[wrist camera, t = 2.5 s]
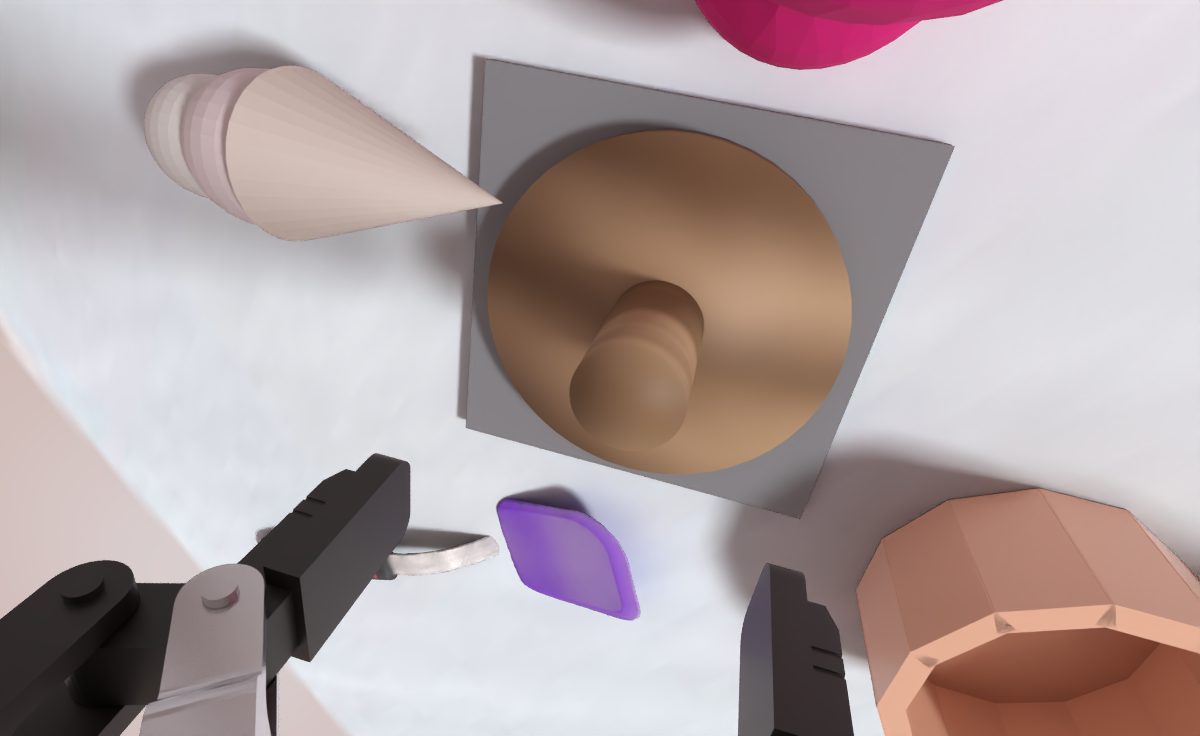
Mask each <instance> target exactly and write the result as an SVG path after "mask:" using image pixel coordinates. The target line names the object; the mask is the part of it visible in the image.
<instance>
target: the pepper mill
mask: <svg viewBox="0 0 1200 736" xmlns="http://www.w3.org/2000/svg"><path fill="white" fill-rule="evenodd" d="M695 1H696V3H697V5H698V7H699V8H700V10H701V11H702V13H703V14H704V16H705V17H706V19H707V20H708V22H709V23H710V24H711V26H712V27H713V28H714V29H715V30H716V31H717V32H718V33H719V34H720V35H721V36H722V37H723V39H725V40H726V41H727V42H729V43H730V44H731V45H733V46H734V47H735V48H736V49H738V50H739V51H741V52H743V53H744V54H746V55H748V56H750V57H752V58H754V59H756V60H758V61H761V62H764V63H767V64H770V65H774V66H777V67H783V68H791V69H799V70H801V69H822V68H827V67H832V66H836V65H841V64H845V63H848V62H851V61H853V60H856V59H859V58H861V57H864V56H866V55H869V54H871V53H873V52H874V51H876V50H878V49H880V48H882V47H883V46H885V45H887V44H889V43H890V42H892V41H894V40H895V39H897V38H898V37H899V36H901V35H902V34H904V33H905V32H906V31H908V30H909V29H910V28H912V27H913V26H915V25H916V24H917V23H919V22H920V21H921V20H929V19H936V18H944V17H951V16H959V15H963V14H966V13H969V12H972V11H974V10H977V9H980V8H983V7H986V6H988V5H991V4H994V3H997V2H999V1H1002V0H695Z"/></svg>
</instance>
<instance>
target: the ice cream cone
mask: <svg viewBox="0 0 1200 736" xmlns="http://www.w3.org/2000/svg"><path fill="white" fill-rule="evenodd" d="M144 133H145V138H146V142H147V145H148V147H149V150H150V152H151V154H152V156H153V157H154V159H155V161H156V162H157V164H158V165H159V167H160V168H161V169H162V170H163V171H164V172H165V173H166V174H167V175H168V176H169V177H170V178H171V179H172V180H174V181H175V182H176V183H178V184H179V185H180V186H182V187H183V188H185V189H187V190H189V191H191V192H193V193H195V194H198V195H200V196H203V197H207V198H210V199H211V200H212V201H213V202H215V203H216V204H217V205H218V206H220V207H221V208H223V209H224V210H225V211H227V212H228V213H229V214H231V215H233V216H235V217H238V218H240V219H242V220H244V221H247V222H249V223H252V224H256V225H258V226H259V227H260V228H262V229H263V230H264V231H266V232H267V233H269V234H271V235H273V236H275V237H278V238H280V239H284V240H289V241H306V240H312V239H317V238H322V237H327V236H333V235H338V234H343V233H348V232H354V231H359V230H364V229H369V228H375V227H380V226H385V225H391V224H396V223H401V222H406V221H412V220H417V219H422V218H428V217H433V216H438V215H443V214H449V213H454V212H459V211H464V210H470V209H475V208H480V207H486V206H491V205H496V204H501V203H502V202H501V201H499V200H498V199H497V198H495V197H494V196H492V195H491V194H489V193H488V192H487V191H485V190H484V189H482V188H481V187H480V186H478V185H477V184H475V183H474V182H473V181H471V180H470V179H468V178H467V177H465V176H464V175H463V174H461V173H460V172H458V171H457V170H456V169H454V168H453V167H451V166H450V165H448V164H447V163H446V162H444V161H443V160H441V159H440V158H439V157H437V156H436V155H434V154H433V153H432V152H430V151H429V150H427V149H426V148H424V147H423V146H422V145H420V144H419V143H417V142H416V141H415V140H413V139H412V138H410V137H409V136H407V135H406V134H405V133H403V132H402V131H400V130H399V129H398V128H396V127H395V126H393V125H392V124H390V123H389V122H388V121H386V120H385V119H383V118H382V117H381V116H379V115H378V114H376V113H375V112H374V111H372V110H371V109H369V108H368V107H366V106H365V105H364V104H362V103H361V102H359V101H358V100H357V99H355V98H354V97H352V96H351V95H349V94H348V93H347V92H345V91H344V90H342V89H341V88H340V87H338V86H337V85H335V84H334V83H333V82H331V81H330V80H328V79H327V78H325V77H324V76H322V75H320V74H319V73H317V72H315V71H313V70H311V69H308V68H304V67H300V66H281V67H277V68H273V69H267V68H240V69H236V70H233V71H229V72H226V73H222V74H220V75H214V74H189V75H185V76H181V77H178V78H175V79H173V80H171V81H169V82H167V83H165V84H164V85H163V86H162V87H161V88H160V89H159V90H158V91H157V92H156V93H155V94H154V95H153V97H152V98H151V100H150V101H149V104H148V106H147V109H146V111H145V118H144Z"/></svg>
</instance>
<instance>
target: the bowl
mask: <svg viewBox="0 0 1200 736" xmlns="http://www.w3.org/2000/svg"><path fill="white" fill-rule="evenodd" d="M856 594H857V600H858V606H859V611H860V617H861V623H862V629H863V634H864V640H865V646H866V651H867V657H868V663H869V668H870V674H871V680H872V685H873V691H874V697H875V703H876V707H877V709H878V713H879V716H880V720H881V723H882V727H883V730H884V734H885V736H1200V582H1199V581H1198V580H1197V579H1196V577H1195V576H1194V575H1193V574H1192V573H1191V571H1190V570H1189V569H1188V568H1187V566H1186V565H1185V564H1184V563H1183V562H1182V560H1180V559H1179V558H1178V557H1177V556H1176V555H1174V554H1173V553H1172V552H1171V551H1170V550H1169V549H1168V548H1167V547H1166V546H1165V545H1164V544H1163V543H1162V542H1161V541H1160V540H1159V539H1157V538H1156V537H1155V536H1154V535H1153V534H1152V533H1151V532H1150V531H1149V530H1148V529H1147V528H1146V527H1145V526H1144V525H1143V524H1142V523H1141V522H1139V521H1138V520H1137V519H1136V518H1135V517H1134V516H1133V515H1132V514H1131V513H1130V512H1129V511H1128V510H1124V509H1120V508H1116V507H1112V506H1108V505H1104V504H1100V503H1096V502H1092V501H1088V500H1084V499H1080V498H1076V497H1072V496H1068V495H1064V494H1060V493H1056V492H1052V491H1048V490H1044V489H1041V488H1037V489H1029V490H1022V491H1014V492H1006V493H999V494H991V495H983V496H976V497H968V498H961V499H953V500H947V501H945V502H944V503H942V504H940V505H939V506H937V507H935V508H934V509H932V510H930V511H928V512H927V513H925V514H923V515H922V516H920V517H918V518H917V519H915V520H913V521H912V522H910V523H908V524H906V525H905V526H903V527H901V528H900V529H898V530H896V531H895V532H893V533H891V534H889V535H888V536H886V537H884V538H882V539H881V542H880V544H879V546H878V548H877V550H876V552H875V554H874V556H873V558H872V559H871V561H870V563H869V565H868V567H867V569H866V571H865V573H864V575H863V577H862V579H861V581H860V583H859V585H858V587H857V589H856Z"/></svg>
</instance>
